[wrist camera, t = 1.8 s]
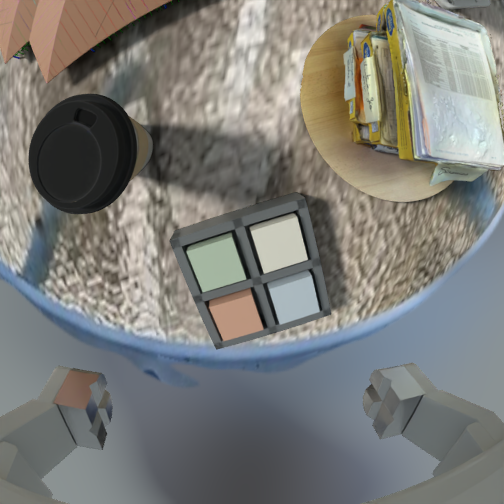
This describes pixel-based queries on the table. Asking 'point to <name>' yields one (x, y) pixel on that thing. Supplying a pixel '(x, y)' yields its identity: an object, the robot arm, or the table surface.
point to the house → (64, 27)
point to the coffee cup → (86, 153)
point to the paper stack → (404, 101)
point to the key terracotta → (236, 314)
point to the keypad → (252, 264)
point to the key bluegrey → (294, 296)
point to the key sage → (216, 262)
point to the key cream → (279, 242)
